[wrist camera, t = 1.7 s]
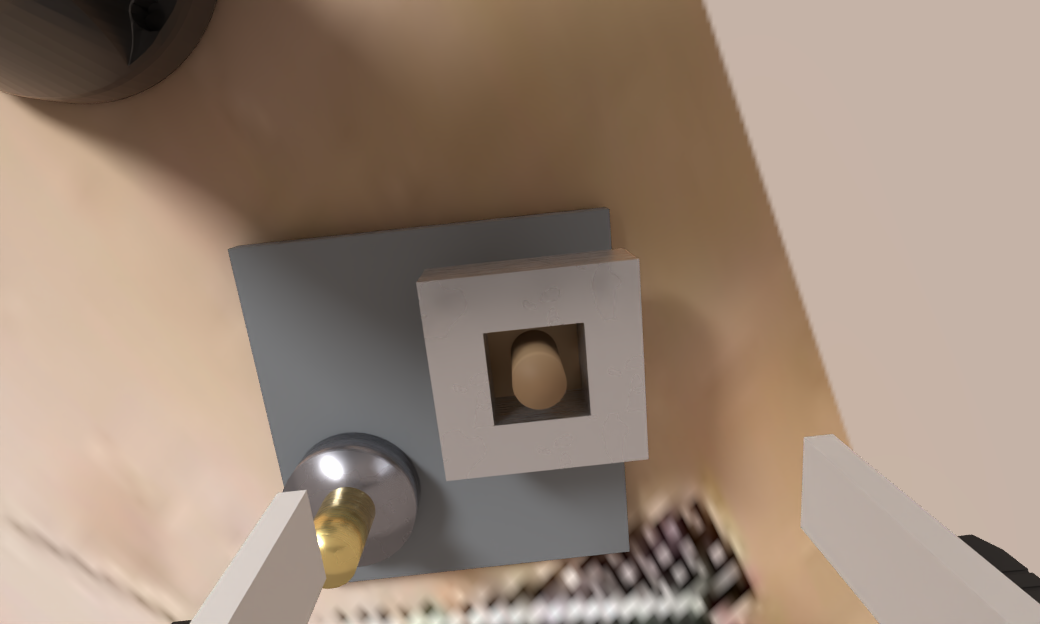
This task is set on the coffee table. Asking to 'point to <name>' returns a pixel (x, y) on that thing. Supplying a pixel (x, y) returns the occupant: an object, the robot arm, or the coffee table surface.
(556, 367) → the stand
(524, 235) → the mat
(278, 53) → the coffee table surface
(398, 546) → the cylinder
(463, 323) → the square hole frame
